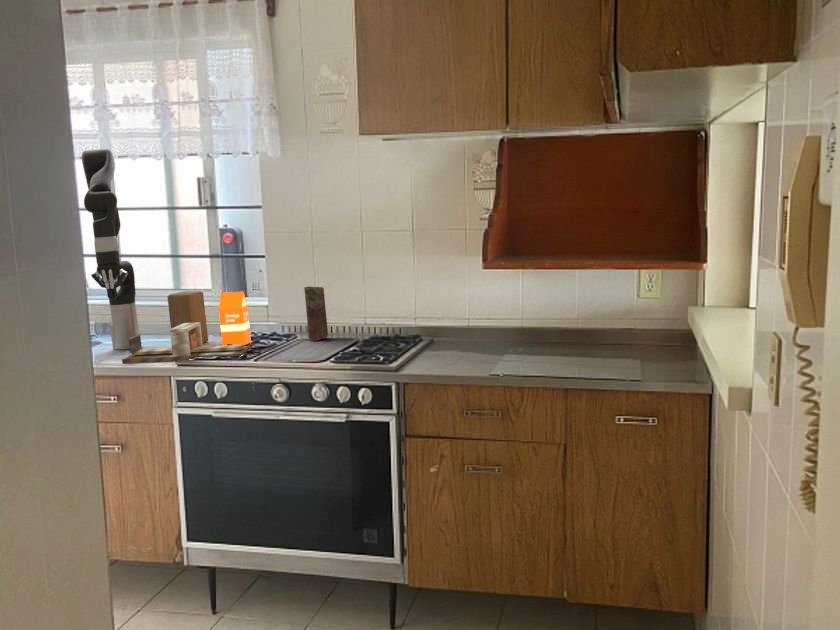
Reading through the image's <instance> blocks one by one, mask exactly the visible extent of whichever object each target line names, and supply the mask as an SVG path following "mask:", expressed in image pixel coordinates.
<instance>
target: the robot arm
mask: <svg viewBox="0 0 840 630" xmlns="http://www.w3.org/2000/svg"><path fill="white" fill-rule="evenodd" d="M114 157H115V156H114V155H113V152H112V151H111V149H110V148H100V149H97V148H96V149H88V150H87V149H86V150H83V151H82V152H81V162H82V167H83V172H84V176H85V180H86V185H87V188H88V190H87V191H86V193H85V195H84V197H83V198H84V199H83V206H84V208H85V211H87V212H89V213H91V214H92V220H93V222H92V230H93V236H94V237H93V238H94V243H93V245H94V252H95V253H94V254H95V259H96V271H95V272H94V273H92V274H91V278H92V279H93V280H94V281H95V282H96V284H98V285H99V287H100V288H103V289H106V293H107V298H108V301H109V309H110V317H111V318H110V319H111V324H110V325H109V328H110V336H111V343H112V345H111V346H112V350H122V351H123V350H130V348H129V340H128V339H129V338H131V337H134V336H136V335H140V330H139V329H140V328H139V321H138V312H137V306H136V281H135V280H136V278H135V270H134V267H133V264H132V263H131V262H130V261H129V260H120V251H119V244H118V240H117V238H118V236H119V233H120V230H121V219H120V213H119V209H118V198H117V196H116V194H115V193H114V192H113V191H112V180H113V177H114V174H115V169H116V163H115V158H114ZM118 287H119V289H117V288H118Z"/></svg>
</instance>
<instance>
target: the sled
mask: <svg viewBox="0 0 840 630" xmlns="http://www.w3.org/2000/svg"><path fill="white" fill-rule="evenodd" d="M188 334H189V343H190V352H206V351H228V350H241V349H242V348H244V344H239V345H222V344H221V345H203V346H197V340H196V333H188ZM141 337H142V336H141V334H139V335H136V336H134V337H131V338H129V339H128V340H129V348H130V349H129V354H130V355H143V354H164V353H172V347H161V348H143V345H142V340H141V339H142V338H141Z"/></svg>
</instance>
